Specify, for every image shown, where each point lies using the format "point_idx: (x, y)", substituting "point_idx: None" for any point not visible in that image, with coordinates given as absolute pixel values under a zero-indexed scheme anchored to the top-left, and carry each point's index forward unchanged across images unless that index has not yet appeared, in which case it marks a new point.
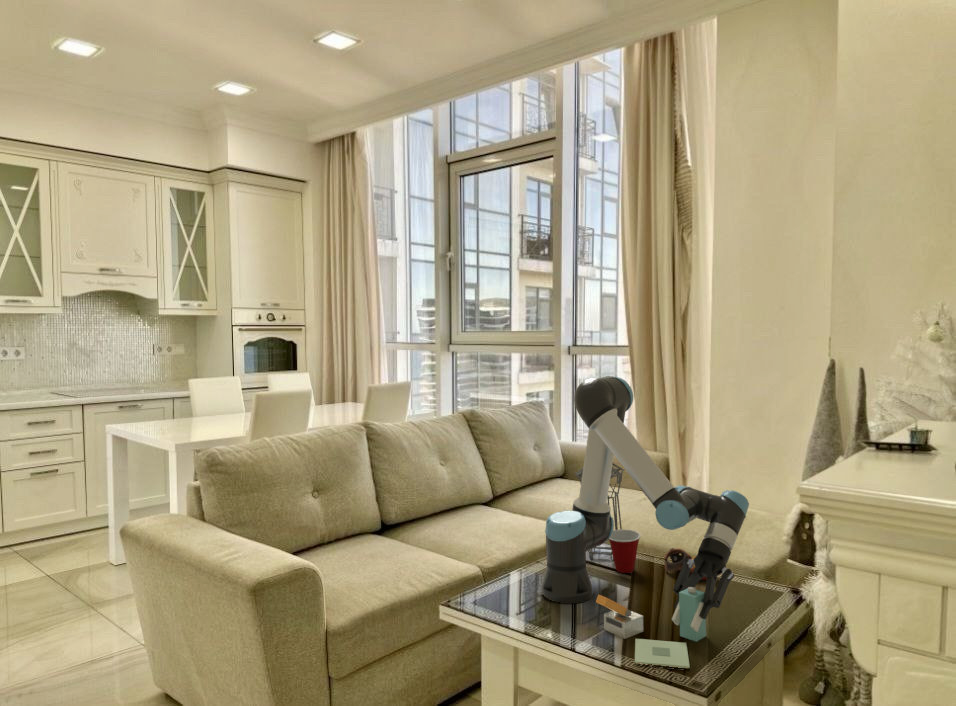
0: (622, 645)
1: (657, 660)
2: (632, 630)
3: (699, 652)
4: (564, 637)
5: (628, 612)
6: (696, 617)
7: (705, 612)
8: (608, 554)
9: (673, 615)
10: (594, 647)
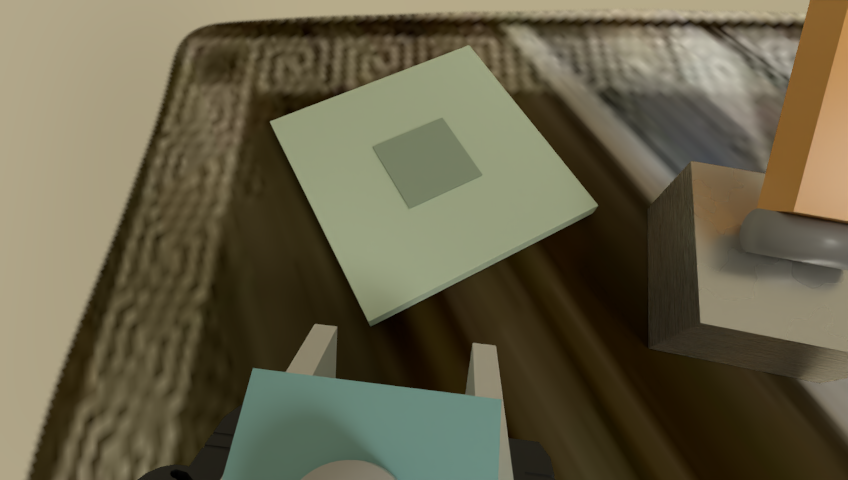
0: (608, 152)
1: (402, 93)
2: (661, 250)
3: (286, 303)
4: None
5: (758, 220)
6: (290, 367)
7: (209, 439)
8: None
9: (495, 365)
10: (673, 79)
